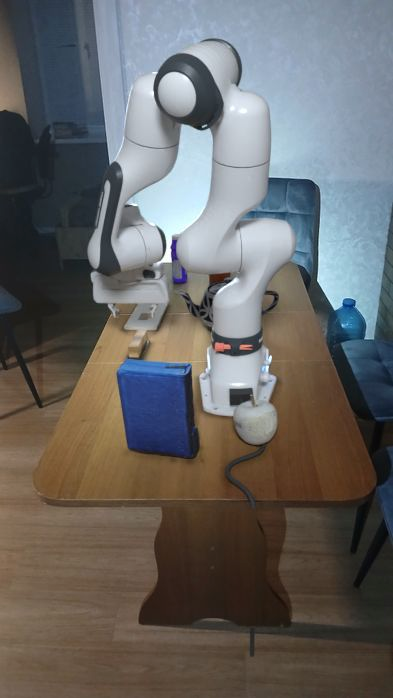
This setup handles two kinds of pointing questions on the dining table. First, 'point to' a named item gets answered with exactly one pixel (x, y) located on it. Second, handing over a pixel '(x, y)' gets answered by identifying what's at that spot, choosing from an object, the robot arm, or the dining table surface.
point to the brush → (138, 345)
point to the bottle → (177, 263)
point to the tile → (145, 317)
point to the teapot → (206, 305)
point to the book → (158, 407)
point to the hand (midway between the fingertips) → (134, 317)
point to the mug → (218, 277)
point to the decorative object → (255, 421)
